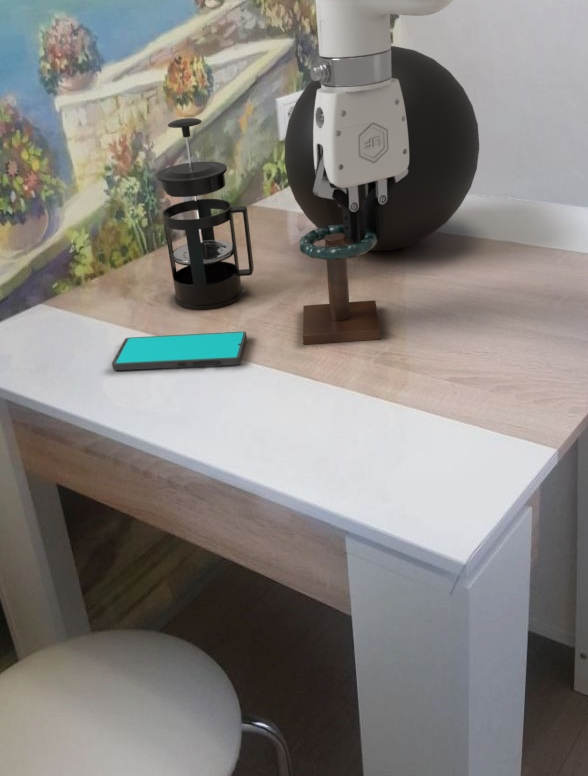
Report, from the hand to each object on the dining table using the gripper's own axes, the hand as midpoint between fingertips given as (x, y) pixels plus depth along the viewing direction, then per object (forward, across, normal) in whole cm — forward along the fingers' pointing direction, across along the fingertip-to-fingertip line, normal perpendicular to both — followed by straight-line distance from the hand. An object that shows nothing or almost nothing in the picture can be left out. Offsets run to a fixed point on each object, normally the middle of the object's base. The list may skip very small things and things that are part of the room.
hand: (364, 238), depth 103 cm
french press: (+10, -12, +20) cm, 25 cm away
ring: (0, -4, 0) cm, 4 cm away
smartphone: (+10, -23, +5) cm, 25 cm away
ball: (+10, +16, +21) cm, 28 cm away
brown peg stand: (+10, -4, 0) cm, 11 cm away
